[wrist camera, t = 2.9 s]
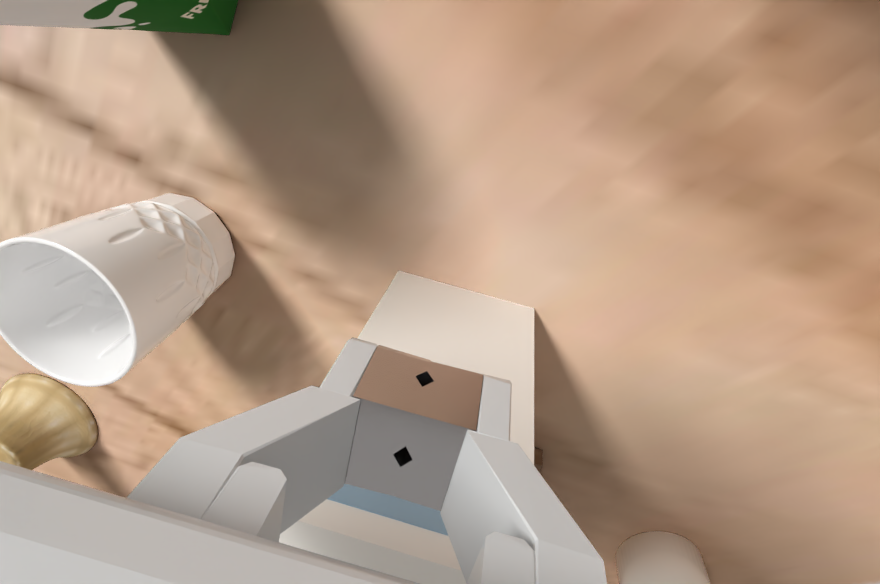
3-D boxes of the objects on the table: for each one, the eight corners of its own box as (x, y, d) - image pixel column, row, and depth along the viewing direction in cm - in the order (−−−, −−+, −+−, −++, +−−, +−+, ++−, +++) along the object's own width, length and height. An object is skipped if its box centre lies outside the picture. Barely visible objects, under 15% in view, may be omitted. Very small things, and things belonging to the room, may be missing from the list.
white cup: (200, 320, 35) (88, 412, 26) (108, 235, 34) (-46, 304, 25) (268, 252, 32) (166, 331, 23) (170, 156, 30) (19, 201, 22)
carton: (535, 307, 31) (536, 592, 15) (496, 415, 35) (464, 733, 19) (397, 269, 31) (253, 505, 15) (375, 380, 35) (240, 661, 19)
